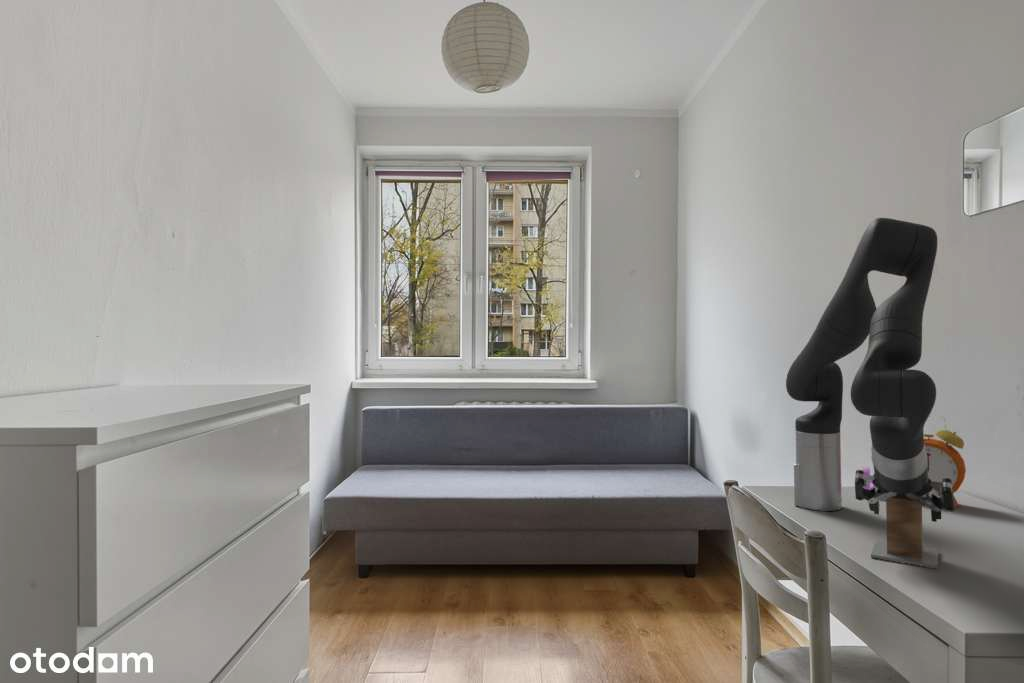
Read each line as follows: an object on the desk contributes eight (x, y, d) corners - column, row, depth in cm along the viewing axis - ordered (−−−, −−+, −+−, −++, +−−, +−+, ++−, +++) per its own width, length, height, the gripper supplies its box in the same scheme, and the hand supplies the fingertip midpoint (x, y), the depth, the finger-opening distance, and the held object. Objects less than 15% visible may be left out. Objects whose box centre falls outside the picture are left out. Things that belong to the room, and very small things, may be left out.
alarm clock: (894, 500, 143) (892, 416, 143) (898, 495, 147) (897, 413, 148) (964, 510, 134) (962, 420, 134) (966, 504, 139) (964, 417, 139)
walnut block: (887, 553, 106) (885, 490, 106) (889, 545, 110) (888, 484, 110) (921, 559, 103) (920, 494, 103) (922, 550, 107) (921, 488, 107)
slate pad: (870, 557, 106) (870, 554, 106) (876, 543, 113) (876, 539, 113) (937, 569, 100) (937, 565, 100) (938, 552, 108) (938, 549, 108)
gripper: (952, 444, 97) (953, 500, 106) (851, 437, 105) (860, 490, 114) (953, 484, 92) (954, 539, 101) (847, 473, 101) (857, 525, 110)
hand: (904, 513), depth 108 cm, fingers open, 8 cm apart
